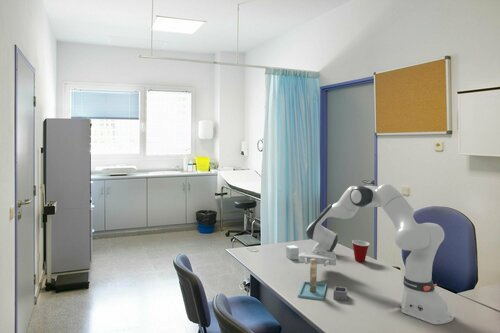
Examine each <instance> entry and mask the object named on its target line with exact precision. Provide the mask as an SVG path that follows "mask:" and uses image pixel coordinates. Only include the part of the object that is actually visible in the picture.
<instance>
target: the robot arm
mask: <svg viewBox="0 0 500 333" xmlns="http://www.w3.org/2000/svg"><path fill="white" fill-rule="evenodd" d="M375 207H376V208H377V207H379V208H380V207H381V208H382V209H383V212H385V213H386V215H387V217H389V219H390V220H391V221H392V223H393V225H394V228H395V233H394V234H395V235H394V240H395V244H396V246H398V248H399V249H401V250H403V251H409V252H410V251H411V252H410V253H409V255H408V256H407V257H406V259H405V262H404V263H405V264H404V266H405V267H404V268H405V269H404V271H405V272H404V275H403V290H402V291H403V293H402V297H401V300H400V303H399V304H400V305H399V307H400V312H401V313H402V314H406V315H408V316H410V317H413V318H415V319H419V320H422V321H424V322H427V323H429V324H432V325H445V324H448V323H450V322H452V321H454V314H453V313H451V312H449V307H448V303H447V301H446V300H445V299H444V298H443V296H441V295H440V294H439V293H438V292H437V290H436V287H437V285H438V284H437V283H435V284H434V280H432V278H433V277H432V273H433V265H434V264H433V263H434V260H435V256H436V254H437V251H438V249H439V247H440V245H441V243H443V241H444V240H445V235H446V234H445V231H444V229H443V227H442V226H441V225H439V224H438V223H433V222H423V223H418V222H417V221H416V220H415V217H414V214H415V210H414V208H413V207H412V205H411V204H410V202H408V200H407V199H406V197H404V196H403V195H402V193H401V192H400V191H398V189H397V188H396V187H394V186H393V185H392V184H390V183H383V184H380V185H377V186H376V185H358V186H357V185H350V186H349V187H348V188H347V189H345V191H344V192H343V193H342V195H341V197H340V198H339V200H338V201H337V202H335V203H330V204H328V205H327V206H326V207H325V208H324V209H323V210H322V211H321V212H320V214H319V215H318V216H317V217H316V218H315V219H314V221H312V222H311V223H309V225H308V226H307V228H306V230H305V234H306V236H307V238H308V239H310V240H312V241H314V242H316V243H315V244H314V246H313V247H312V250H311V252H306V251H304V252H301V253H299V258H298V262H299V263H305V265H310V259H316V260H317V265H323V266H324V267H327V266H333V267H334V266H337V255H336V253H335V251H334V249H335V248H336V246H337V245H338V241H339V237H338V235H337V234H338V233H336V232H334V231H331V229H328V228H326V227H324V226H323V225H322V224H323V223H324V222H325V220H326V219H327V218H338V219H342V220H347V219H351V218H353V217H354V216H355V215H356V213H357V212H358V211H359V209H360V208H375ZM335 233H336V234H335Z"/></svg>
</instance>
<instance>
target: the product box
mask: <svg viewBox="0 0 500 333" xmlns="http://www.w3.org/2000/svg"><path fill="white" fill-rule="evenodd" d="M285 249H286V250H285V252H286V253H285V257H286V258H287V259H288V260H299V255H300V251H299V249H300V248H299V246H297V245H295V244H293V245H291V244H290V245H286V247H285Z"/></svg>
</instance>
